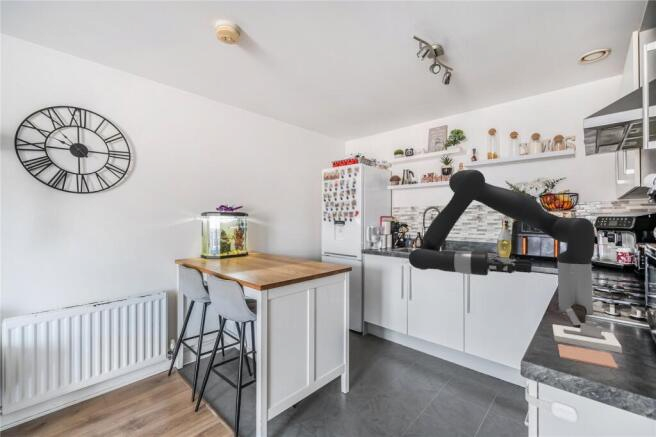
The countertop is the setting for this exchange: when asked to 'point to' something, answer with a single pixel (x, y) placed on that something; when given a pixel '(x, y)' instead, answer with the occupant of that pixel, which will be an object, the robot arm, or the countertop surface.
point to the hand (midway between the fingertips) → (531, 266)
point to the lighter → (585, 326)
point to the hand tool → (579, 313)
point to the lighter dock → (585, 338)
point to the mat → (587, 356)
